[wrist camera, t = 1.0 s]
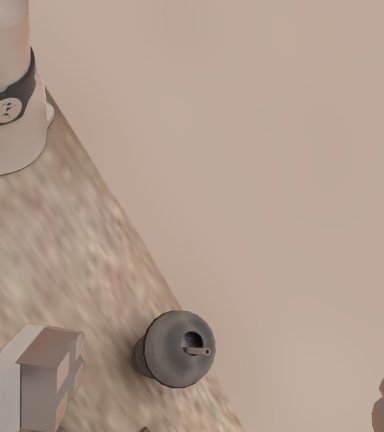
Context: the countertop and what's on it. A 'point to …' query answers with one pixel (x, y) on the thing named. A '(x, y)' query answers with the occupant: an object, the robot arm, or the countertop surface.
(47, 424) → the robot arm
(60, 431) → the bottle
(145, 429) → the clipboard
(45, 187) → the countertop surface
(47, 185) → the countertop surface
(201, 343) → the beverage cup
